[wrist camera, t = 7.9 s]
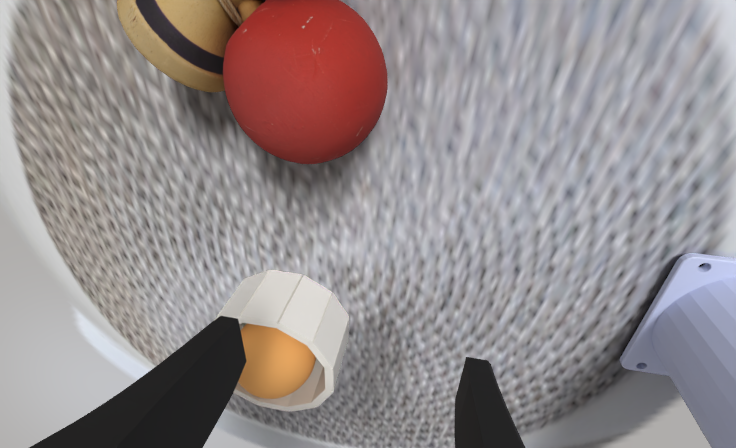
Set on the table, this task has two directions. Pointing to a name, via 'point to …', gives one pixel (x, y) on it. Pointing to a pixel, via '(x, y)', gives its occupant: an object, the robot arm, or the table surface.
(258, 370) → the ball
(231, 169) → the table surface
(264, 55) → the kendama
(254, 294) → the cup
